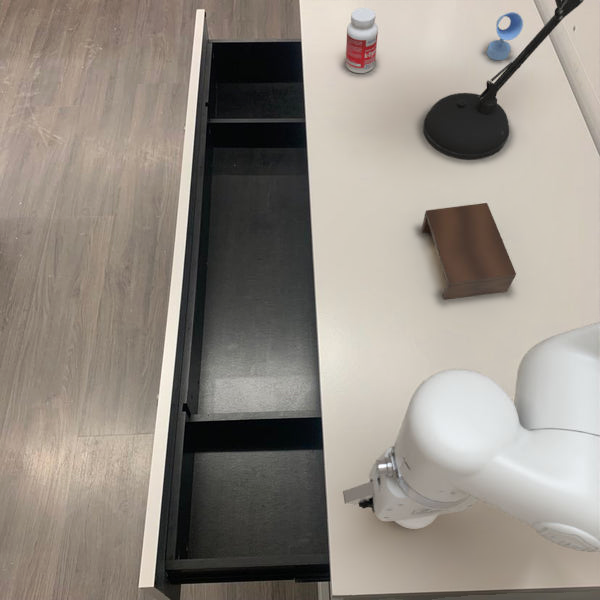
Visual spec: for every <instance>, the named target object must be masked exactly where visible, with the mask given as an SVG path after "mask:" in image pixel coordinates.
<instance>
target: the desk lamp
mask: <svg viewBox="0 0 600 600" xmlns="http://www.w3.org/2000/svg"><path fill="white" fill-rule="evenodd" d="M584 1H585V0H554V2H555V5H556V8H555V9H554V15H553V16H552V17H551V18H550V19H549V20H548V21H547V23H546V24H544V26H543V27H542V28H541V30H540V31H538V33H536V35H535V36H534V37H533V38H532V39H531V41H530V42H529V43H528V44H527V45H526V46H525V48H523V50H522V51H521V52H520V53H519V54H518V55H517V56H516V57H515V59H514V60H512V61H510V62H509V63H508V64H507V65H505V66H504V67H503V68H502V69H501V70H500V71H499V72H498V73H496V74H495V75H494V76H493V77H492V78H491V79H490V80H487V81H486V88H485V89H484V90H483V91H482V92H481V94H478V93H471V92H459V93H453V94H448V95H447V96H444V97H442V98H441V99H439V100H438V101H436V103H434V104H433V105H432V106H431V108H430V110H429V111H428V112H427V113H426V115H425V117H424V121H423V128H422V129H423V134H424V136H425V139H426V141H427V142H428V144H429V145H430V146H432V148H434V149H435V150H437V152H439V153H441V154H443V155H445V156H448V157H451V158H454V159H460V160H481V159H485V158H487V157H492V156H493V155H495V154H497V153H498V152H499V151H500V150H502V149H503V147H504V146H505V145H506V143H507V141H508V138H509V135H510V126H509V118H508V116H507V113H506V111H505V110H504V108H503V107H502V106H501V105H500V104H499V103H498V98H497V94H498V92H499V91H500V90H501V89H502V87H504V85H506V83H507V82H508V81H509V79H511V77H512V76H513V75H514V74H515V73H516V72H517V71H518V69H520V68H521V67H522V65H523V64H524V63H525V62H526V61H527V59H528V58H529V57H530V56H531V55H532V54H533V53H534V52H535V51H536V50H537V48H538V47H539V46H540V45H541V44H542V43H543V42H544V40H546V38H548V36H549V35H550V34H551V33H552V32H553V31H554V30H555V28H556V27H557V26H558V25H560V23H561V22H562V20H564V18H565V17H567V16H568V15H569V14H571V12H574V10H575V9H577V8H578V7H579V6H581V4H583V2H584ZM494 80H495V81H494Z"/></svg>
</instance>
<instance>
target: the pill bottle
mask: <svg viewBox="0 0 600 600" xmlns="http://www.w3.org/2000/svg"><path fill="white" fill-rule="evenodd" d="M378 33H379V27H378V25H377V23H376V12H375V11H374V10H373V9H371V8H368V7H358V8H356V9H354V10H352V11H351V15H350V23H349V24H348V25H347V27H346V45H345V67H346V68H347V70H349V71H350V72H352V73H354V74H366V73H368V72H370V71H373V69H374V67H375V65H376V56H377V46H378V45H377V44H378V36H379V35H378Z"/></svg>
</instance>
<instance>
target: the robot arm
mask: <svg viewBox="0 0 600 600" xmlns="http://www.w3.org/2000/svg"><path fill="white" fill-rule="evenodd" d="M368 478H369V482H366V483H363V484H360V485H357V486H354V487H351V488H348V489H345V490H343V491H342V495H343V499H344V505H353V506H354V505H358V507H359V508H361V509H367V508H370V509H371V511H372V513H373V514H375V517H376V518H377V519H378V520H379V521H382V522H395V521H398V520H406V519H413V518H420V517H427V516H434V515H438V516H440V515H446V514H447V515H448V514H452V513H459V512H463V511H467V510H470V509H471V508H472V507H474V506H475V505H476V504H477V503H478V502H479V500H480V501H481V502H484V503H486V504H488V505H489V506H492V507H494V508H496V509H498V510H500V511H501V512H503V513H505V514H507V515H508V516H510V517H512V518H514V519H517V520H518V521H520V522H521V523H523V524H525V525H527V526H529V527H531V528H533V530H534V531H535V532H536V533H537V534H539V535H540V536H541V537H543V538H544V539H546V540H548V541H550V542H552V543H554V544H556V545H559V546H561V547H563V548H567V549H571V550H575V551H580V552H586V553H597V552H600V321H599V322H598V321H597V322H594V323H591V324H587V325H584V326H581V327H577V328H574V329H570V330H567V331H564V332H561V333H557V334H555V335H552V336H549V337H547V338H545V339H543V340H541V341H540V342H538V343H536V344H535V345H533V346H532V347H530V349H528V350H527V352H526V353H525V354H524V356H523V357H522V359H520V362H519V365H518V369H517V373H516V380H515V389H514V400H513V399H512V397H511V396H510V395H509V393H508V392H507V391H506V390H505V389H504V388H503V386H501V385H500V384H499V383H498V382H497V381H495V380H494V379H493V378H491V377H490V376H488V375H486V374H484V373H482V372H478V371H476V370H474V369H473V370H471V369H467V368H450V369H444V370H442V371H438V372H436V373H434V374H431V375H430V376H429V377H427V378H426V379H424V380H423V381H422V382H421V383H420V384H419V385H418V387H416V389H415V390H414V391H413V394H412V396H411V397H410V401H409V402H408V405H407V408H406V411H405V413H404V417H403V420H402V422H401V425H400V427H399V431H398V434H397V436H396V440H395V441H394V445H393V446H391V447H388V448H387V449H386V450H385V451H383V453H381V454H380V456H378V458H377V459H376V460H375V462H374V463H373V465H372V467H371V468H370V472H369V475H368Z"/></svg>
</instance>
